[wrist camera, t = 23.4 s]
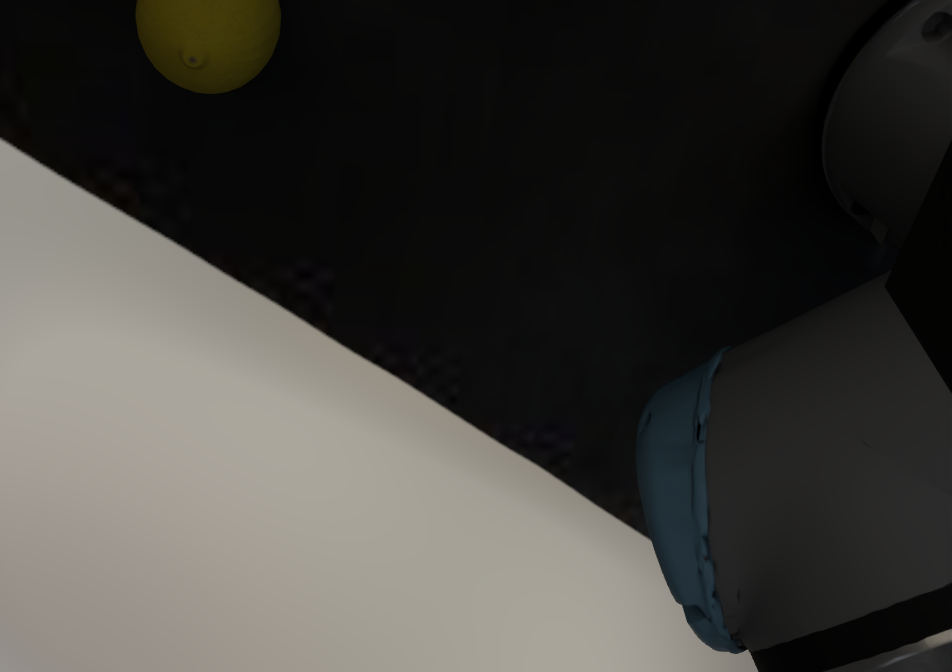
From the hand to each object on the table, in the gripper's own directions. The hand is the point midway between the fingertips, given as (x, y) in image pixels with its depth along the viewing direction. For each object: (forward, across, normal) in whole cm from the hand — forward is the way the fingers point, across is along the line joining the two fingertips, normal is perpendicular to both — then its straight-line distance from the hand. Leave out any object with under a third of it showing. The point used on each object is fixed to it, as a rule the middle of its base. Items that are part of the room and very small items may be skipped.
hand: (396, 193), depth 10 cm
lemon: (+31, -8, -9) cm, 33 cm away
